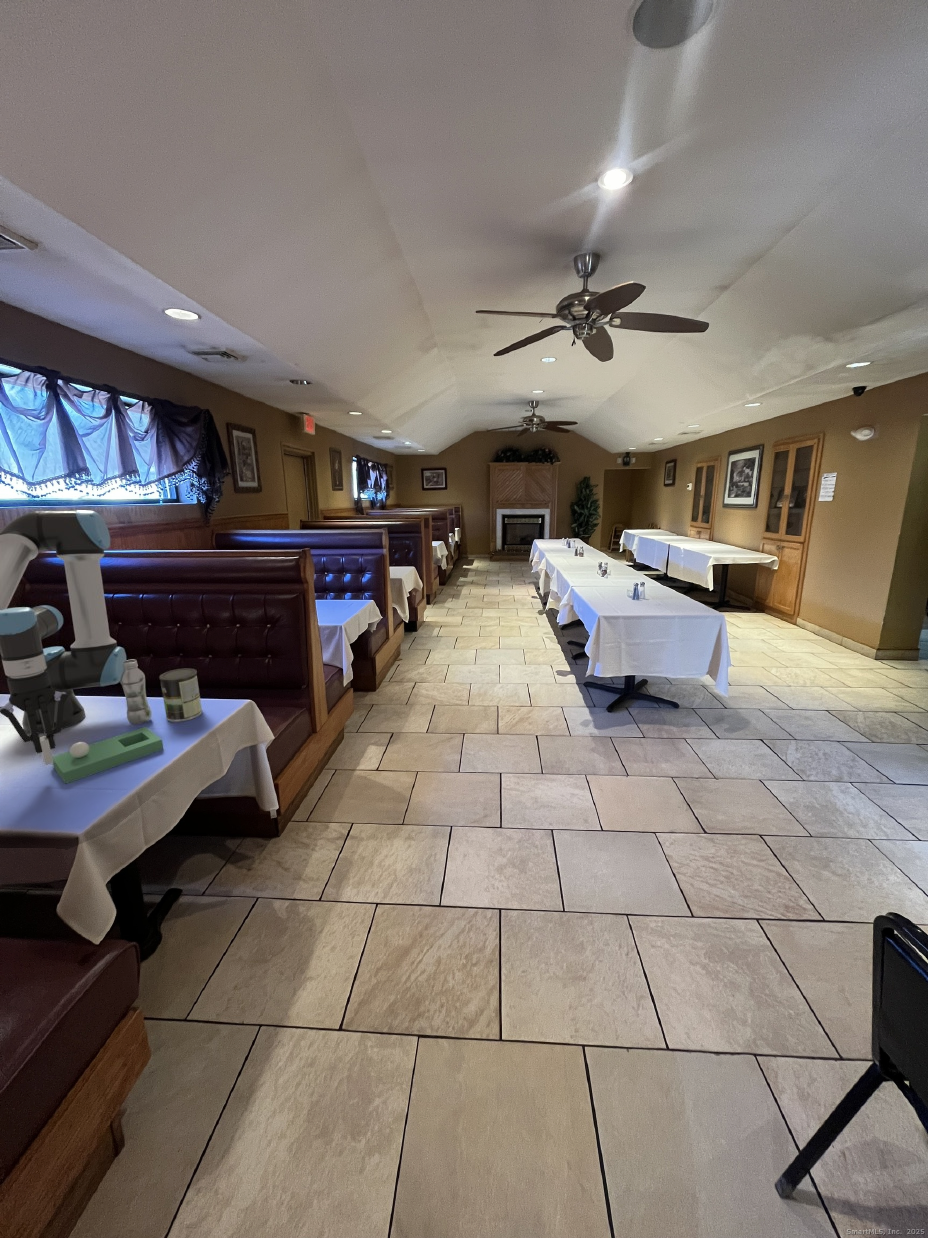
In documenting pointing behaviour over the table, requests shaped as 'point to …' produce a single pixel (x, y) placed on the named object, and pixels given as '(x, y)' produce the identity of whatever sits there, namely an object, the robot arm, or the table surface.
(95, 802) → the table surface
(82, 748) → the ball
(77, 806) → the table surface
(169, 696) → the coffee can
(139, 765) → the table surface
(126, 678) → the plastic bottle
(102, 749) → the green
